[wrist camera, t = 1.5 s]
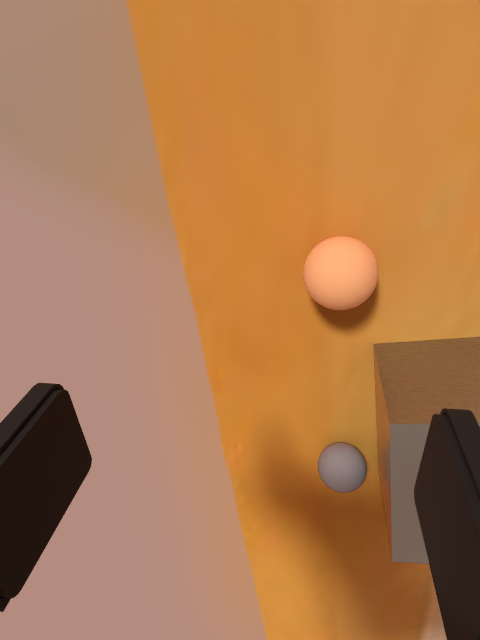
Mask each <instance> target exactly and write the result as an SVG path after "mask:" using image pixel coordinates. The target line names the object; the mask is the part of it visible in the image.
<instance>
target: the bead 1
mask: <svg viewBox="0 0 480 640" xmlns="http://www.w3.org/2000/svg"><path fill="white" fill-rule="evenodd" d="M378 277H379V268H378V263H377V260H376V257H375V255H374V254H373V252H372V251H371V249H370V248H369V247H368V246H367V245H365V244H364V243H363V242H361V241H360V240H357V239H355V238H352V237H346V236H338V237H332V238H329V239H327V240H324V241H323V242H321V243H319V244H318V245H317V246H316V247H315V248H314V249H313V250H312V251H311V252H310V254H309V255H308V257H307V259H306V261H305V265H304V269H303V280H304V284H305V287H306V289H307V291H308V293H309V295H310V296H311V297H312V298H313V299H314V300H315V301H316V302H317V303H318V304H320V305H322V306H324V307H326V308H329V309H333V310H347V309H351V308H354V307H356V306H358V305H360V304H362V303H363V302H364V301H366V300H367V299H368V298H369V297H370V296H371V294H372V293H373V291H374V289H375V287H376V285H377V282H378Z"/></svg>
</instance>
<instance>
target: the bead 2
mask: <svg viewBox="0 0 480 640" xmlns="http://www.w3.org/2000/svg"><path fill="white" fill-rule="evenodd" d="M318 471H319V474H320V477H321V479H322V480H323V482H324V483H325V484H326V485H327V486H328V487H329V488H330V489H332V490H334V491H337V492H341V493H348V492H352V491H354V490H356V489H358V488H359V487H360V486H361V485H362V483H363V482H364V480H365V477H366V473H367V466H366V462H365V459H364V457H363V455H362V454H361V452H360V451H359V450H358V449H357V448H355V447H354V446H352V445H350V444H348V443H343V442H337V443H333V444H331V445H329V446H327V447H326V448H325V449H324V450H323V451H322V453H321V454H320V457H319V460H318Z"/></svg>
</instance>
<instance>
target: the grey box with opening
mask: <svg viewBox="0 0 480 640" xmlns="http://www.w3.org/2000/svg"><path fill="white" fill-rule="evenodd" d="M374 368H375V393H376V419H377V445H378V471H379V478H380V485H381V491H382V498H383V505H384V511H385V518H386V524H387V531H388V538H389V544H390V551H391V558H392V562H404V563H422V564H429V561H428V556H427V552H426V548H425V544H424V539H423V535H422V531H421V527H420V522H419V518H418V514H417V510H416V506H415V501H414V486H415V482H416V478H417V474H418V470H419V466H420V462H421V458H422V455H423V451H424V447H425V443H426V439H427V435H428V431H429V427H430V423H431V419H432V416H433V415H434V414H440V413H441V410H442V409H443V408H447V409H463V410H470V411H472V413H473V414H474V416H475V418H476V420H477V422H478V425H479V427H480V337H475V338H460V339H444V340H429V341H414V342H399V343H383V344H374Z"/></svg>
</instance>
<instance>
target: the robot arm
mask: <svg viewBox="0 0 480 640" xmlns="http://www.w3.org/2000/svg"><path fill="white" fill-rule="evenodd" d="M91 461H92V458H91V454H90V451H89V449H88V446H87V443H86V440H85V437H84V435H83V432H82V429H81V426H80V424H79V421H78V418H77V415H76V412H75V409H74V407H73V404H72V401H71V398H70V395H69V393H68V391H66V390H64V388H63V387H62V386H61V385H60V384H49V383H38V384H36V385H35V386H33V388H32V389H31V390H30V391H29V392H28V393H27V394H26V395H25V396H24V397H23V399H22V400H21V401H20V402H19V403H18V404H17V405H16V406H15V407H14V409H13V410H12V411H11V412H10V413H9V414H8V415H7V416H6V417H5V418H4V420H3V421H2V422H1V423H0V611H1V612H3V611H4V609H5V608H6V606H7V604H8V603H9V601H10V599H11V598H14V597H15V596H16V595H17V594H18V593H19V592H20V591H21V589H22V587H23V586H24V584H25V582H26V580H27V579H28V577H29V575H30V573H31V572H32V570H33V568H34V566H35V565H36V563H37V561H38V559H39V558H40V556H41V554H42V552H43V550H44V549H45V547H46V545H47V544H48V542H49V540H50V538H51V537H52V535H53V533H54V531H55V530H56V528H57V526H58V524H59V522H60V521H61V519H62V517H63V515H64V514H65V512H66V510H67V508H68V507H69V505H70V503H71V501H72V500H73V498H74V496H75V494H76V493H77V491H78V489H79V487H80V486H81V484H82V482H83V480H84V479H85V477H86V475H87V473H88V472H89V470H90V467H91ZM414 501H415V506H416V510H417V514H418V518H419V522H420V527H421V531H422V535H423V539H424V544H425V548H426V552H427V556H428V561H429V565H430V569H431V573H432V577H433V582H434V586H435V590H436V594H437V599H438V603H439V607H440V611H441V616H442V620H443V624H444V628H445V632H446V637H447V640H480V427H479V425H478V422H477V420H476V418H475V416H474V414H473V413H472V411H470V410H463V409H447V408H443V409H442V410H441V413H440V414H434V415H433V416H432V419H431V423H430V427H429V431H428V435H427V439H426V443H425V447H424V451H423V455H422V458H421V462H420V466H419V470H418V474H417V478H416V482H415V486H414Z"/></svg>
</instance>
